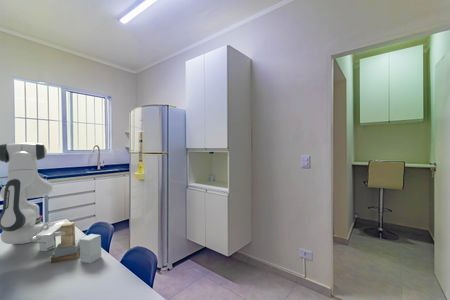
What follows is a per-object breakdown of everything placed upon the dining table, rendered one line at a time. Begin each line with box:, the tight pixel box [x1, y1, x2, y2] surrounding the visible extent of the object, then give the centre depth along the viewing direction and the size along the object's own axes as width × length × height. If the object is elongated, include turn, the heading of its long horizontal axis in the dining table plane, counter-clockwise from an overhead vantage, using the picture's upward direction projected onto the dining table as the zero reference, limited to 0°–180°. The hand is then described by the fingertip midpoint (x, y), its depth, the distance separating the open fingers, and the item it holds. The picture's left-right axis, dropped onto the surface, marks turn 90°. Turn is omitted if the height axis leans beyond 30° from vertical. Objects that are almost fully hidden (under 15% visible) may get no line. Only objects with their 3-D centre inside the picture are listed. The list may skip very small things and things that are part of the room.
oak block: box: [60, 221, 76, 247], centre depth 121 cm, size 5×5×12 cm
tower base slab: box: [50, 246, 80, 264], centre depth 121 cm, size 12×12×4 cm
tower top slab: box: [53, 239, 80, 257], centre depth 121 cm, size 10×10×4 cm
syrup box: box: [38, 237, 57, 252], centre depth 131 cm, size 6×6×14 cm
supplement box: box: [78, 233, 102, 264], centre depth 117 cm, size 7×7×13 cm
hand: (69, 229), depth 122 cm, fingers open, 8 cm apart
